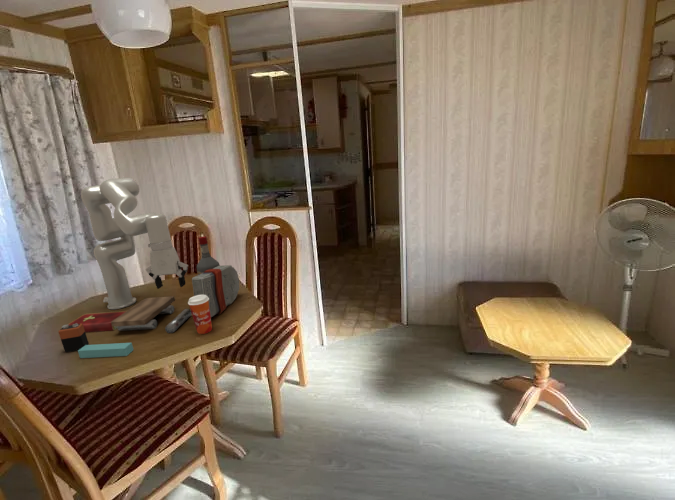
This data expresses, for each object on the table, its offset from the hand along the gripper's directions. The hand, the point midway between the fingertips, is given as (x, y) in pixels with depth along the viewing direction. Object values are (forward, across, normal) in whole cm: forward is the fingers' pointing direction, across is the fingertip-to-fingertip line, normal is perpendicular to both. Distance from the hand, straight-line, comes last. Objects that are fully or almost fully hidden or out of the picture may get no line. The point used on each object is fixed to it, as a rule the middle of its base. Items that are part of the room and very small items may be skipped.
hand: (171, 286), depth 147 cm
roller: (+17, 0, 0) cm, 17 cm away
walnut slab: (+13, -17, +5) cm, 22 cm away
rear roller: (+17, -17, +12) cm, 27 cm away
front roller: (+17, -17, -2) cm, 24 cm away
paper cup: (+17, +14, -7) cm, 23 cm away
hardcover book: (+17, -38, +3) cm, 42 cm away
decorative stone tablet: (+17, +13, +14) cm, 26 cm away
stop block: (+17, -17, -21) cm, 32 cm away
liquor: (+17, +3, +29) cm, 34 cm away
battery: (+17, -33, -16) cm, 41 cm away
